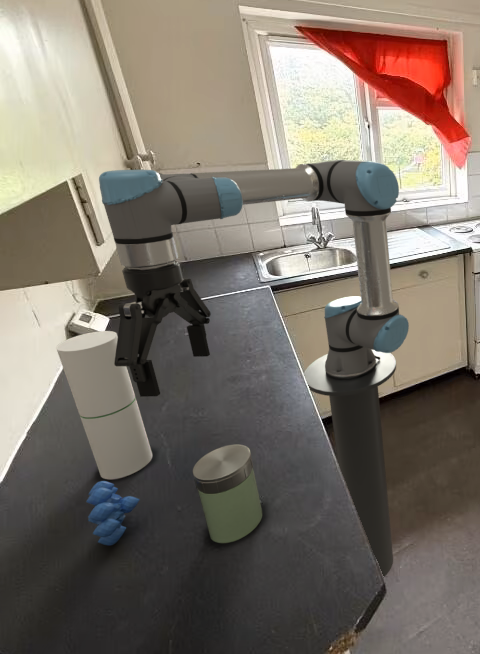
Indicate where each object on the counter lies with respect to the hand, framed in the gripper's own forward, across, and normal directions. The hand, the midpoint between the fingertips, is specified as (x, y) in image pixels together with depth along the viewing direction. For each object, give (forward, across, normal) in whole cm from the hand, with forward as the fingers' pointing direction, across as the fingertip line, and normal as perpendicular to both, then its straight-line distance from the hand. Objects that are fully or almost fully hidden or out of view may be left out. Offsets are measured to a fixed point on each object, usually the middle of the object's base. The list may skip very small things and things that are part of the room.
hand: (178, 374), depth 78 cm
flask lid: (+13, +8, +10) cm, 19 cm away
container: (+27, -8, -21) cm, 35 cm away
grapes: (+27, +10, -8) cm, 30 cm away
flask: (+27, +8, +10) cm, 30 cm away
